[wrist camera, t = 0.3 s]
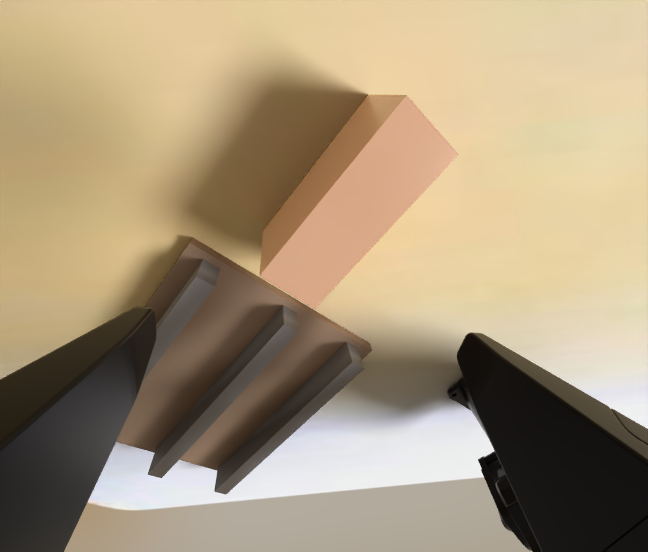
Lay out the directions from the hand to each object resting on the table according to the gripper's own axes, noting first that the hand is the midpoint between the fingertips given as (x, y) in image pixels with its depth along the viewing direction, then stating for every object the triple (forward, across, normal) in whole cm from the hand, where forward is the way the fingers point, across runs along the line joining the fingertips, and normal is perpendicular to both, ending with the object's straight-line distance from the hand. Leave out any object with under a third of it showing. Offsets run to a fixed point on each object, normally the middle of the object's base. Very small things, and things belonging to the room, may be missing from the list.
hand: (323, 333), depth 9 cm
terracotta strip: (+13, -2, -1) cm, 13 cm away
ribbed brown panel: (+13, +4, +16) cm, 21 cm away
